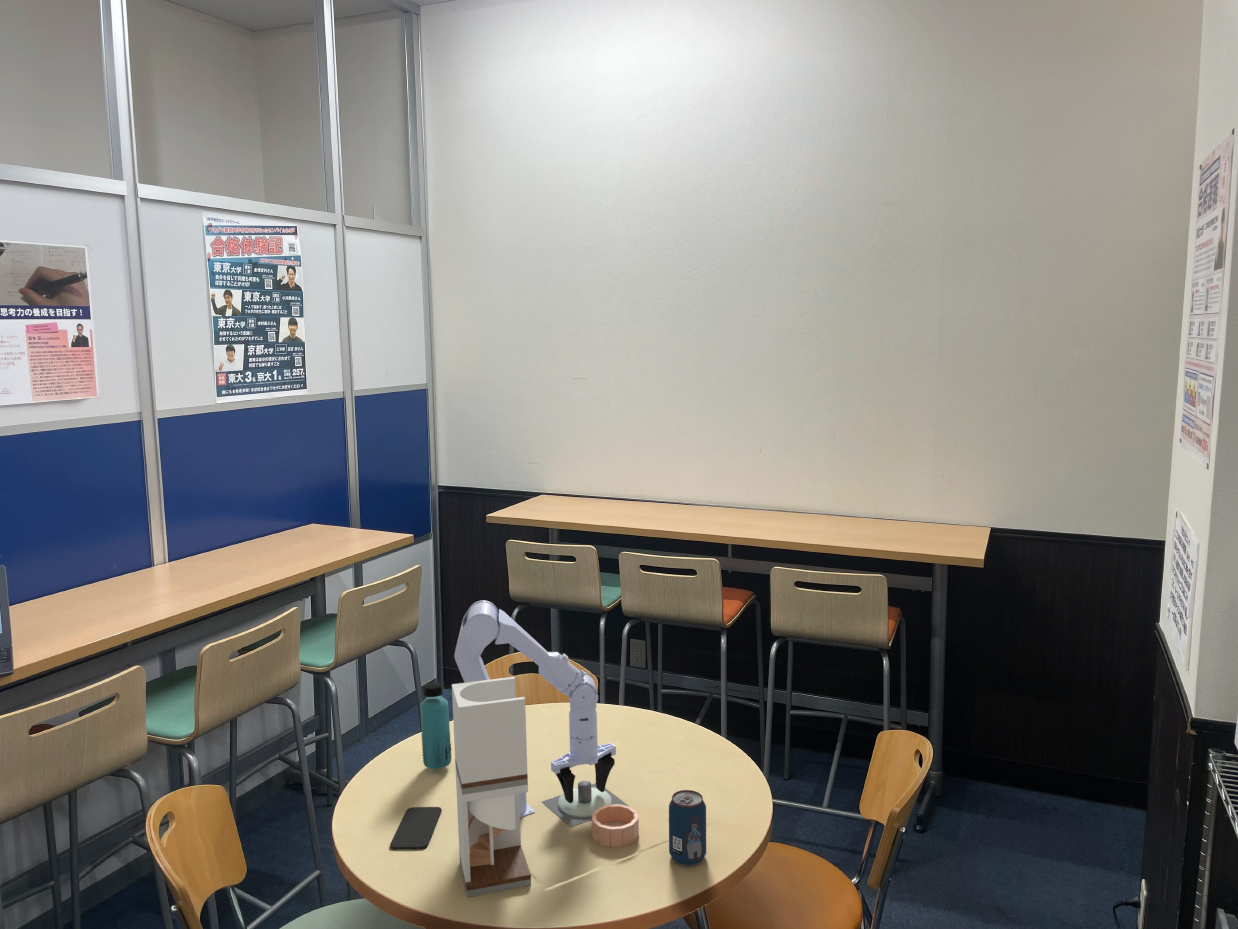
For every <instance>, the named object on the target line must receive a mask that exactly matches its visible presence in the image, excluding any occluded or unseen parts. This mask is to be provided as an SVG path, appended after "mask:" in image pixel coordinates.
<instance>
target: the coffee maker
mask: <svg viewBox="0 0 1238 929" xmlns="http://www.w3.org/2000/svg"><path fill="white" fill-rule="evenodd" d="M516 689H517V688H516V677H515V676H510V677H502V678H500V677H499V678H492V679H491V678H490V680H483V681H475V682H467V683H465V682H459V683H452V684H451V694H452V695H451V696H452V697H451V698H452V719H453V737H454V738H453V740H454V762H455V765H454V766H455V780H456V781H455V785H456V787H455V789H456V805H457V806H456V807H457V808H456V809H457V826H458V827H457V829H458V832H457V833H458V852H459V854H458V855H459V866H460V871H461V875H462V880H463V886H464V890H465V893H466V897H467V898H469V897H474V896H476V897H477V896H480V895H487V894H490V893H496V892H497V893H498V892H501V891H502V892H503V891H507V890H512V889H518V888H523V887H528V886H531V885H532V873H531V871H530V868H529V865H528V863H527V859H526V856H525V852H524V850H523V846H522V843H521V842H522V840H521V839H522V836H521V835H522V834H521V818H520V801H519V793H525V792H526V793H528V792H529V783H528V780H529V779H528V778H529V776H528V775H529V774H528V750H527V748H528V747H527V717H526V698H525V696H520V697H517V690H516Z"/></svg>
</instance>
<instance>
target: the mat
mask: <svg viewBox="0 0 1238 929" xmlns="http://www.w3.org/2000/svg"><path fill="white" fill-rule="evenodd" d="M591 787H593V788H596V782H595V783H591ZM604 791H606V792H607V793H608V794H609V795H610V796H611V804H621V805H626V806H630V805H628V804H627V803H626V802H624V801H623V800H622V799H621V798H620V797H618V796H617V795H615V794H614V793H612V791H610V790H609V789H607V788H606V787H605V790H604ZM561 795H562V794H560V795H557V796H554V797H551V798H549V799H548V798H547V799H545V800H543V801H541V803H542V804H543V805H544V806H545V807H547V809H548V810H550V811H551V812H552V813H554V814H555V815H556V816H557V817H558V818H559V819H560V820H561V821H562V822H564V823H565V824H566V825H567V826H568V827H569V828H574V827H576V826H579V825H581V824H584V823H586V822H590V821H592V817H589V818H577V817H572V816H569V815H566V814H565V813H563V812H562V811H561V810H560V809H559V804H558V801H559V798H560V796H561Z"/></svg>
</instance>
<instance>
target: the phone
mask: <svg viewBox="0 0 1238 929" xmlns="http://www.w3.org/2000/svg"><path fill="white" fill-rule="evenodd" d="M442 810H443V809H442V808H441V807H440V806H413V807H412V806H411V807H408V808H407V809H406V810H405V812H404V814H403V816H402V818H401V820H400V822H399V825H398V827H397V829H396V831H395V833H394V835H393V838H392V840H391V842H390V843H389V848H390V849H391V850H394V851H395V850H398V851H399V850H401V851H402V850H405V851H406V850H410V851H411V850H415V851H416V850H425V849H427V848H428V847H429V844H430V842H431V839H432V837H433V835H434V832H435V830H436V827H437V825H438V822H439V819H440V817H441V816H442V815H441V814H442Z"/></svg>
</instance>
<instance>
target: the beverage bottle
mask: <svg viewBox="0 0 1238 929" xmlns="http://www.w3.org/2000/svg"><path fill="white" fill-rule="evenodd" d="M423 688H424V689H423V690H424V691H423V696H424V697H425V699H423V701H422V702H421V703H420V705H419V707H420V724H421V747H422V748H421V749H422V751H421V752H422V753H421V754H422V763H423V765H424V767H426V768H428V769H431V770H439V769H442V768H443V769H444V768H446V767H448V766H449V765H451V763H452V741H451V740H452V739H451V738H452V737H451V731H450V726H451V725H450V716H449V702H448V699H446V698H444V697H443V696H442V695H443V693H444V691H443V685H442V683H440V682H436V681H435V682H433V681H432V682H429V683H426V684H425V685H424V687H423Z"/></svg>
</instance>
